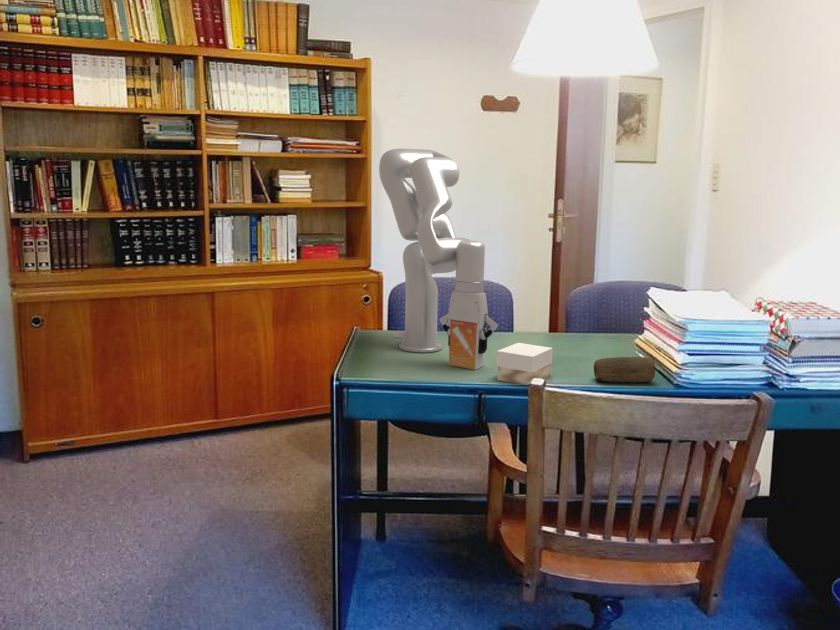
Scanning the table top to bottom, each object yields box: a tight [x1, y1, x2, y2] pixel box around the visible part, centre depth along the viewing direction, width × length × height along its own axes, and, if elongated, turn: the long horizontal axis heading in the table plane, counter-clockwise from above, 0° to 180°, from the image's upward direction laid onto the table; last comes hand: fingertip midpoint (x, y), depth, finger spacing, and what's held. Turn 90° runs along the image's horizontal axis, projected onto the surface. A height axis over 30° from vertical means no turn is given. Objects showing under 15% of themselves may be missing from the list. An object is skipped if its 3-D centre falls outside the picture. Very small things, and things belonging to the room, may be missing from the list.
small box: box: [448, 319, 487, 371], centre depth 209 cm, size 8×6×13 cm
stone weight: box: [593, 356, 656, 384], centre depth 198 cm, size 15×7×7 cm, turn 94°
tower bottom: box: [497, 363, 552, 386], centre depth 200 cm, size 10×12×4 cm
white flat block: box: [496, 342, 554, 372], centre depth 199 cm, size 10×12×4 cm
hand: (467, 350), depth 210 cm, fingers closed on small box, 8 cm apart
